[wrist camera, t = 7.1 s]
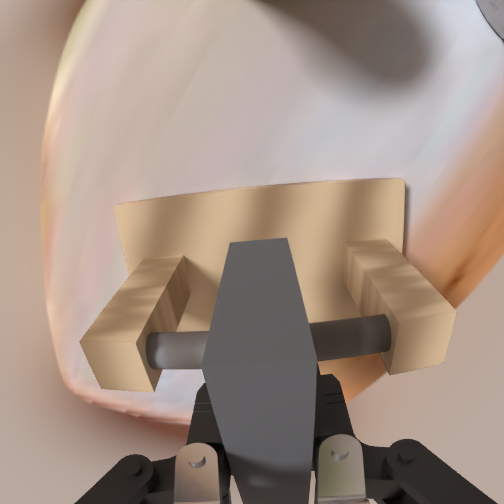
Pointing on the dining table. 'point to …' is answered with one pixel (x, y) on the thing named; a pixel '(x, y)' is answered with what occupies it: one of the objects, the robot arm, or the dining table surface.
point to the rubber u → (263, 373)
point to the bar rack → (306, 265)
